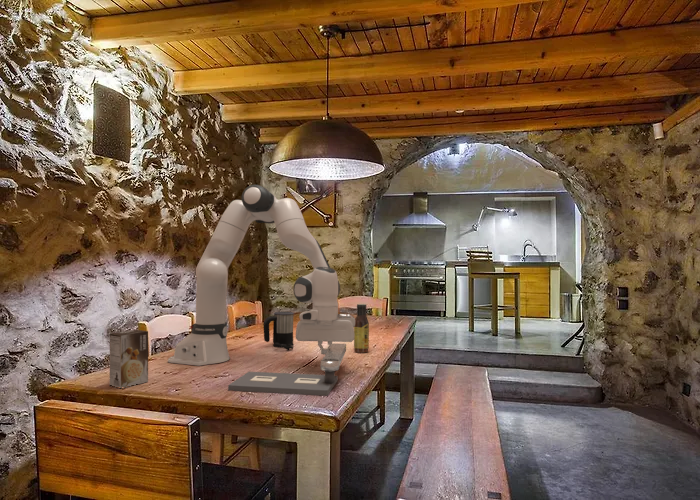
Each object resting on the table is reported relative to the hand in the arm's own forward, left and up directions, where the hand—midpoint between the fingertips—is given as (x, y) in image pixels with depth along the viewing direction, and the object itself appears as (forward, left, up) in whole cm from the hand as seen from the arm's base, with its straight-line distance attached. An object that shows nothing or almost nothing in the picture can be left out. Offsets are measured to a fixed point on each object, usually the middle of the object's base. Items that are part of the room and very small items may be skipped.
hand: (325, 354), depth 152 cm
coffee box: (-57, -24, -6) cm, 62 cm away
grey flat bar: (+4, -5, -1) cm, 7 cm away
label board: (-9, -17, -6) cm, 20 cm away
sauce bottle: (+8, +35, -6) cm, 36 cm away
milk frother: (-26, +37, -6) cm, 46 cm away
